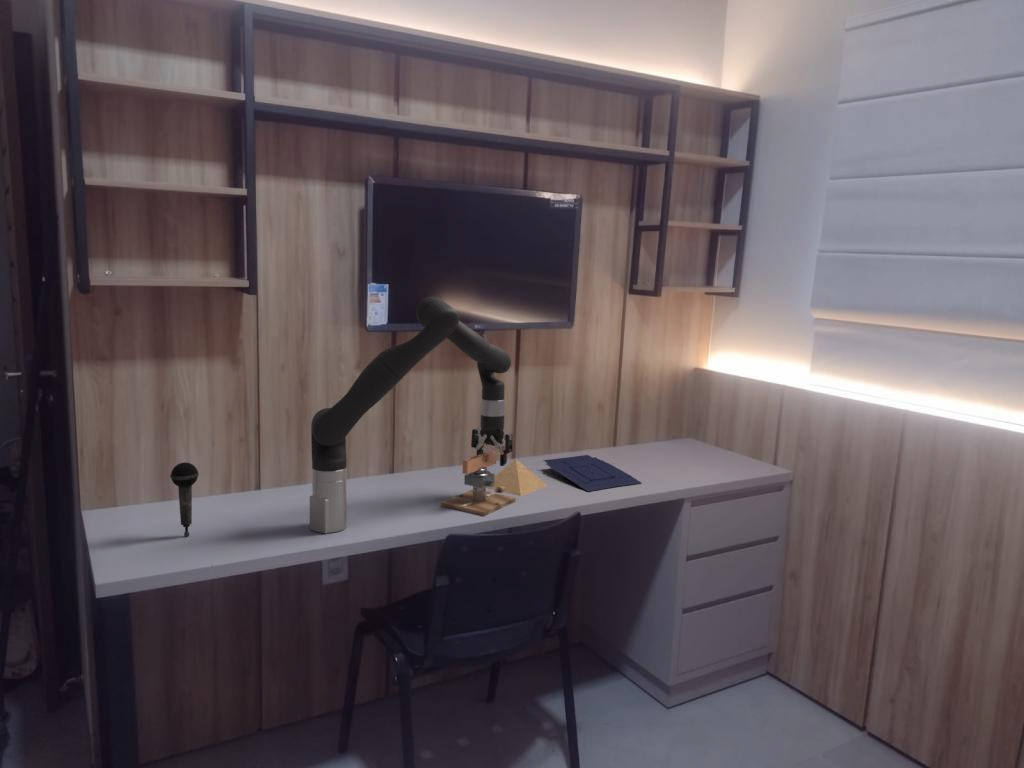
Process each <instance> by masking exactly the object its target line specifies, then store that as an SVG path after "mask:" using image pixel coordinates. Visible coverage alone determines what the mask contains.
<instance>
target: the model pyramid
mask: <svg viewBox="0 0 1024 768" xmlns="http://www.w3.org/2000/svg"><path fill="white" fill-rule="evenodd" d="M546 487H548V485H547V483H545V482H544V481H543V480H542V479H541V478H540V477H538V476H537V475H536V474H534V473H533V472H532V471H531V470H530V469H528V467H526V466H525V465H524V464H523V463H522V462H520V461H519V460H518V459H517V458H514V460H513V461H512V462H510V463H509V464H508V465H506V466H505V467H504V468H503V469H502V470H501V471H499V472H498V473H497V474H496V475H495V477H494V486H493V487H488V486H486V489H489V490H494V491H496V492H500V494H502V493H506V494H510V495H513V496H518V497H523V496H525V495H526V496H527V495H528V494H530V493H533V492H535V491H538V490H541V489H543V488H546Z"/></svg>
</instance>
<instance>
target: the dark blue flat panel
mask: <svg viewBox="0 0 1024 768" xmlns="http://www.w3.org/2000/svg"><path fill="white" fill-rule="evenodd" d="M543 462H545V464H546V466H548V467H549V468H550V469H551V470H553V471H555V472H557V473H558V474H560V475H562V477H564V478H566V479H568V480H570V481H571V482H572V483H574V484H575V485H577V486H579V488H582V489H583V490H585V491H586V492H592V491H598V490H603V489H604V490H605V489H609V488H615V487H623V486H629V485H639V484H642V482H641V481H640V480H638V479H636V478H635V477H634V476H632V475H630V474H629V473H627V472H625V471H623V470H621V468H617V467H616V466H614V465H613V464H611V463H609V462H606V461H604V460H603V459H599V458H597V457H592V456H591V455H589V454H585V455H576V456H575V455H573V456H569V457H561V458H559V457H557V458H550V459H543Z"/></svg>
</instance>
